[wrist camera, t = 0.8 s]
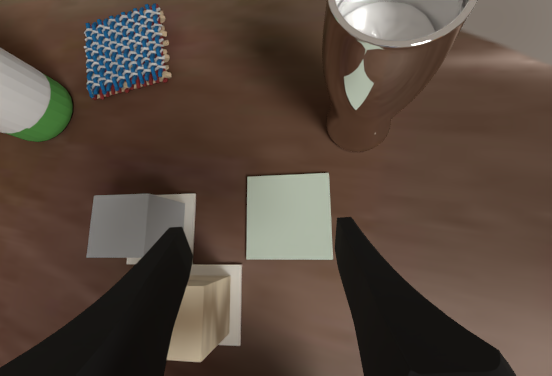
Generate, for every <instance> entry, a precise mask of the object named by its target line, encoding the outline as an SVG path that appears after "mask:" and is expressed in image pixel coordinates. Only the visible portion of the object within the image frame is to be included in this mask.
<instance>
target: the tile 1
mask: <svg viewBox="0 0 552 376" xmlns="http://www.w3.org/2000/svg"><path fill="white" fill-rule="evenodd" d="M156 196H160V197H163V198H167V199H171V200H174V201H178V202H182V203H185V215H184V233H185V235H186V238H187V241H188V243H189V246H190V248H191V251H192V254H193V250H194V230H195V209H196V194H168V195H156ZM140 259H141V258H127V263H126V264H137V262H138V261H139V260H140ZM192 264H193V261H192Z"/></svg>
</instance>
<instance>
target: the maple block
mask: <svg viewBox="0 0 552 376" xmlns="http://www.w3.org/2000/svg"><path fill="white" fill-rule="evenodd" d="M230 282H231V276H207V275H190V277H189V280H188V283H187V287H186V290H185V293H184V296H183V299H182V302H181V305H180V309H179V312H178V315H177V318H176V321H175V325H174V328H173V332H172V336H171V341H170V346H169V350H168V355H167V360H174V361H189V362H202V361H203V360H204V359H205V358H206V357H207V356H208V355H209V354H210V353H211V351H212V350H213V349H214V348H215V347H216V346H217V345H218V344H219V343H220V342H221V341H222V340H223V339H224V338H225V337H226V336H227V335H228V334H229V325H230Z"/></svg>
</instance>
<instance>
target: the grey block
mask: <svg viewBox="0 0 552 376" xmlns="http://www.w3.org/2000/svg"><path fill="white" fill-rule="evenodd" d="M184 215H185V203H182V202H178V201H174V200H171V199H167V198H163V197H160V196H156V195H152V194H124V195H98V196H94V200H93V208H92V216H91V225H90V233H89V241H88V249H87V257H86V258H142V257H143V256H144V255H145V254H146V253H147V252H148V251H149V250H150V248H151V247H152V246H153V245H154V244H155V243H156V242H157V241H158V239H159V238H160V237H161V236H162V235H163V234H164V233H165V232H166V231H167V230H168V228H169V227H182V228H183V230H184Z"/></svg>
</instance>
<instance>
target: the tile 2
mask: <svg viewBox="0 0 552 376" xmlns="http://www.w3.org/2000/svg"><path fill="white" fill-rule="evenodd" d="M190 275H207V276H231V282H230V325H229V334H228V335H227V336H226V337H225V338H224V339H223V340H222V341H221V342H220V343H219V344H218V345H229V346H240V345H241V301H242V265H235V264H192V267H191V272H190Z"/></svg>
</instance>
